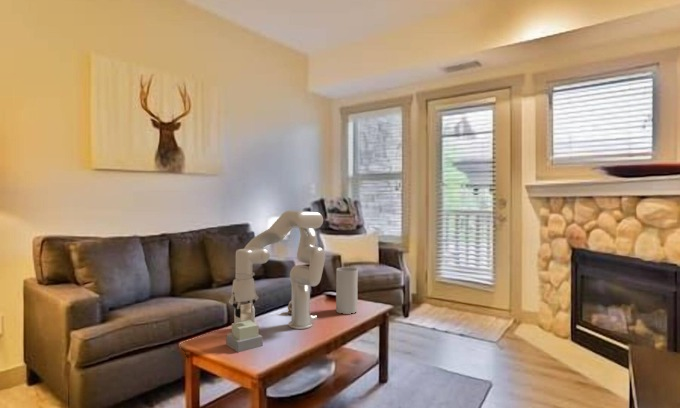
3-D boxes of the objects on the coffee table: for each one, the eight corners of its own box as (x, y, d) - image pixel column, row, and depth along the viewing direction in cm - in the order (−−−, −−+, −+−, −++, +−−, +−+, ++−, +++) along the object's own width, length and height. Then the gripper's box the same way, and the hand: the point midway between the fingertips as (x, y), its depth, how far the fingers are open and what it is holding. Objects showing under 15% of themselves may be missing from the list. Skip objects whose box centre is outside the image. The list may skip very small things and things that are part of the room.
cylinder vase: (336, 308, 251) (337, 267, 251) (357, 308, 251) (357, 267, 250) (335, 314, 239) (336, 271, 238) (357, 314, 238) (357, 271, 238)
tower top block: (250, 330, 196) (250, 320, 196) (258, 336, 189) (258, 325, 189) (231, 334, 191) (231, 323, 191) (239, 340, 184) (239, 328, 184)
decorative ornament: (285, 312, 241) (285, 286, 241) (297, 310, 245) (298, 285, 245) (291, 316, 235) (291, 289, 234) (303, 314, 239) (303, 288, 238)
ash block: (246, 316, 193) (246, 301, 193) (251, 318, 190) (251, 303, 189) (236, 318, 190) (236, 303, 190) (241, 321, 186) (241, 305, 186)
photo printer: (234, 330, 209) (234, 306, 209) (234, 327, 214) (234, 304, 213) (254, 329, 212) (255, 305, 212) (254, 326, 216) (254, 302, 216)
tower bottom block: (250, 339, 198) (250, 329, 198) (262, 347, 189) (262, 336, 189) (226, 345, 190) (226, 334, 190) (238, 353, 181) (238, 342, 181)
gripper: (256, 272, 198) (256, 310, 198) (222, 277, 187) (222, 317, 187) (264, 275, 192) (264, 314, 193) (230, 280, 181) (230, 321, 182)
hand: (243, 315), depth 190 cm, fingers closed on ash block, 5 cm apart
